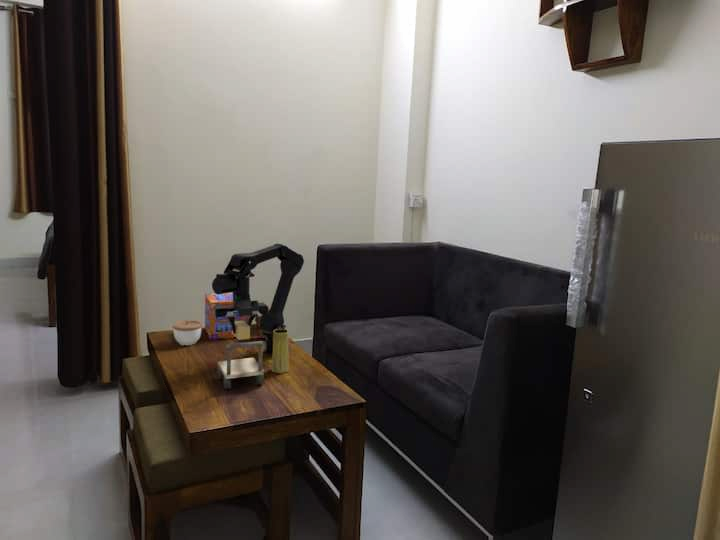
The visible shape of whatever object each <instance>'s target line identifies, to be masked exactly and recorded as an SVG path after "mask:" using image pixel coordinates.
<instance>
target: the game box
mask: <svg viewBox="0 0 720 540" xmlns="http://www.w3.org/2000/svg"><path fill="white" fill-rule="evenodd" d="M232 303H233V295H232V292H230V293H224V294H216V293H205V294H204V329H205V331H206V333H208V334H207V335H209V336H208V338H209V340H210V339H212V340H218V339H217V338H225V339H234V337H235V336H234V335H233V334H232V328H231V325H230V322H229V320H228V319H226V318H225V317H215V316H214V315H213V307H214V306H219V305H224V306H225V307H226V308H232V307H233V306H232ZM233 315H234V317H235V321H244V322H245V323H246V316H239V315H238V313H233Z"/></svg>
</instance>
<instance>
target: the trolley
mask: <svg viewBox="0 0 720 540" xmlns="http://www.w3.org/2000/svg"><path fill="white" fill-rule="evenodd" d="M263 345H264V340H259V341H248V342H240V343H239V342H238V343H229V344H226V346H225V347H226V360H220V361H217V376H218V377H217V378H218V379H219V380H221V379H222V380H223V381H222V382H223V388H224V390H230V389H231V388H232V380H231V379H237V378H245V377H246V378H247V377H253V376H255V383H256V385H258V386H259V385H264V383H265V380H264V379H265V378H264V375H265V370H264V369H263ZM251 347H258V351H257V353H258V357H257V359H258V362H257V360H256V358H254V357H248V358H247V357H246V358H237V359H232V349H241V348H251Z"/></svg>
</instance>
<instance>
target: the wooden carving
mask: <svg viewBox="0 0 720 540" xmlns="http://www.w3.org/2000/svg"><path fill="white" fill-rule="evenodd" d="M261 318H262V314H260V315H258V316H257V317H255V318H254V321H255V323H256V324H251V326H250V338H255V337H259V338H263V339H266V336H264V335H263V333H262V331H261V328H260V320H261ZM283 327H284V328H285V329H286V328H287V324H284V325H283Z"/></svg>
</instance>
